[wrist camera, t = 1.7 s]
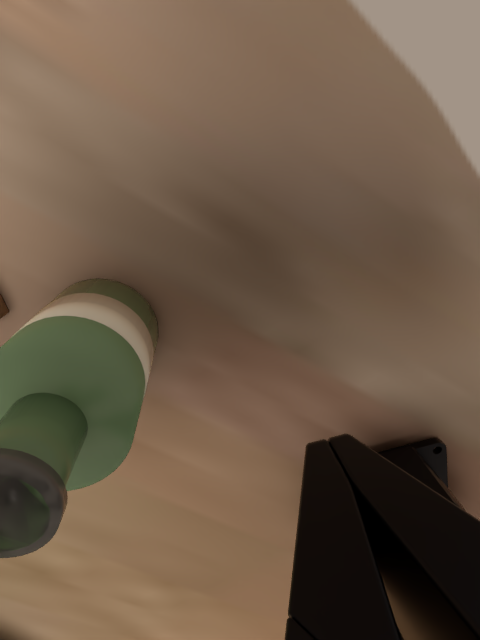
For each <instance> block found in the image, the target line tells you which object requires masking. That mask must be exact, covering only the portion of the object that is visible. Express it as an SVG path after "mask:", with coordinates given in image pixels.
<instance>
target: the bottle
mask: <svg viewBox="0 0 480 640" xmlns="http://www.w3.org/2000/svg"><path fill="white" fill-rule="evenodd" d="M157 339H158V324H157V320H156V317H155V314H154V312H153V310H152V308H151V307H150V305H149V304H148V302H147V301H146V300H145V299H144V298H143V297H142V296H141V295H140V294H139V293H138V292H136V291H135V290H134V289H132V288H130V287H129V286H127V285H124V284H122V283H120V282H116V281H113V280H108V279H90V280H84V281H81V282H78V283H76V284H74V285H71V286H70V287H68V288H67V289H65V290H64V291H63V292H62V293H61V294H60V295H58V296H57V297H56V298H55V299H54V300H53V301H52V302H51V303H49V304H48V305H46V306H45V307H44V308H43V309H42V310H41V311H40V312H39V313H37V314H36V315H35V316H34V317H33V318H32V319H31V320H30V321H28V322H27V323H26V324H25V325H24V326H23V327H22V328H21V329H19V330H18V331H17V332H16V333H15V334H14V335H13V336H12V337H11V338H10V339H9V340H8V341H7V342H6V343H5V344H4V345H2V346H1V347H0V558H10V557H17V556H22V555H25V554H28V553H31V552H33V551H36V550H38V549H39V548H41V547H43V546H44V545H45V544H46V543H48V542H49V541H50V540H51V539H52V537H53V536H54V535H55V533H56V531H57V529H58V527H59V524H60V522H61V519H62V517H63V514H64V512H65V509H66V505H67V491H70V490H75V489H80V488H83V487H86V486H90V485H92V484H94V483H96V482H99V481H100V480H102V479H104V478H105V477H107V476H108V475H110V474H111V473H112V472H113V471H115V470H116V469H117V468H118V467H119V466H120V464H121V463H122V462H123V460H124V459H125V458H126V456H127V454H128V452H129V450H130V448H131V445H132V442H133V438H134V434H135V430H136V426H137V422H138V418H139V413H140V409H141V405H142V402H143V398H144V395H145V391H146V387H147V383H148V379H149V375H150V371H151V367H152V362H153V357H154V352H155V348H156V344H157Z"/></svg>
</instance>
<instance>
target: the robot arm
mask: <svg viewBox="0 0 480 640" xmlns="http://www.w3.org/2000/svg"><path fill="white" fill-rule="evenodd" d="M435 447H436V448H435ZM434 448H435V449H434ZM288 616H289V618H288V619H287V624H286V633H285V640H480V521H479V520H478V519H476V518H475V517H473V516H472V515H470V514H468V513H467V512H466V511H465V510H464V508H463V507H462V506H461V504H460V503H459V502H458V501H457V499H456V498H455V497H454V495H453V494H452V493H451V492H450V490H449V489H448V479H447V452H446V445H445V444H444V443H443V442H442V441H441V440H440V439H438V438H433V439H429V440H425V441H421V442H417V443H413V444H410V445H406V446H402V447H398V448H394V449H390V450H386V451H383V452H379V453H377V452H375V451H374V450H372V449H371V448H369V447H368V446H366V445H365V444H363V443H362V442H360V441H359V440H357V439H356V438H354V437H353V436H351V435H349V434H342V435H338V436H334V437H331V438H329V439H328V441H327V440H325V439H323V440H319V441H315V442H311V443H308V444H307V445H306V451H305V460H304V469H303V478H302V488H301V497H300V506H299V516H298V525H297V534H296V543H295V553H294V562H293V571H292V581H291V590H290V599H289V608H288Z"/></svg>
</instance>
